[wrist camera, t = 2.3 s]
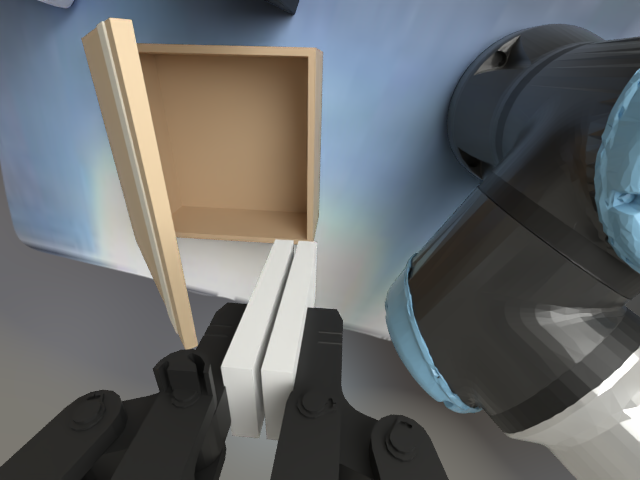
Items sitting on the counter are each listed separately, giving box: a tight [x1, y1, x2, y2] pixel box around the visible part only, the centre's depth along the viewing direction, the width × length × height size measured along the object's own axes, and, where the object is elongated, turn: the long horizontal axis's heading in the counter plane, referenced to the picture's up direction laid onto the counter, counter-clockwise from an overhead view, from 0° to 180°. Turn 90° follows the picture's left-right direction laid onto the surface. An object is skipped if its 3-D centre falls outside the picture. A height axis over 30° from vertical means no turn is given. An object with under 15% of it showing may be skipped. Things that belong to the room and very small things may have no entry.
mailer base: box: [136, 43, 323, 245], centre depth 34 cm, size 18×18×8 cm
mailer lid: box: [82, 18, 198, 350], centre depth 24 cm, size 19×18×1 cm
